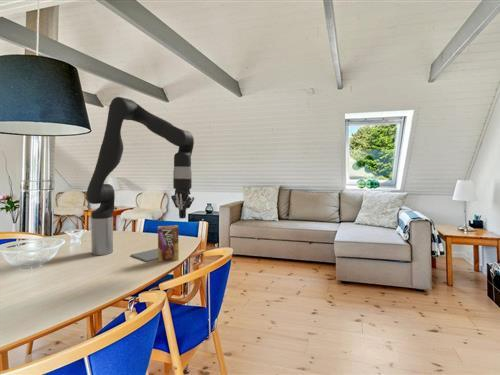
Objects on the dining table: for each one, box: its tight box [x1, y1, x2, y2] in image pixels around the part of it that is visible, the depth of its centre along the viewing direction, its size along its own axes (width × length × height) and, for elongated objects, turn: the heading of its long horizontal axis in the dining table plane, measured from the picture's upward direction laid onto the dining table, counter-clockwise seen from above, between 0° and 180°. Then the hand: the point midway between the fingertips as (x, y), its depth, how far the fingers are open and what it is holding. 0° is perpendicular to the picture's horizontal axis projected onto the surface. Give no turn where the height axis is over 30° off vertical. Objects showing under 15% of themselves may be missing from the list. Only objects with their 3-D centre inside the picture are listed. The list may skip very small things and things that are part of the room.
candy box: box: [157, 224, 180, 263], centre depth 128 cm, size 9×4×15 cm, turn 109°
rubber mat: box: [130, 247, 158, 263], centre depth 136 cm, size 14×16×1 cm
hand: (182, 218), depth 122 cm, fingers closed
